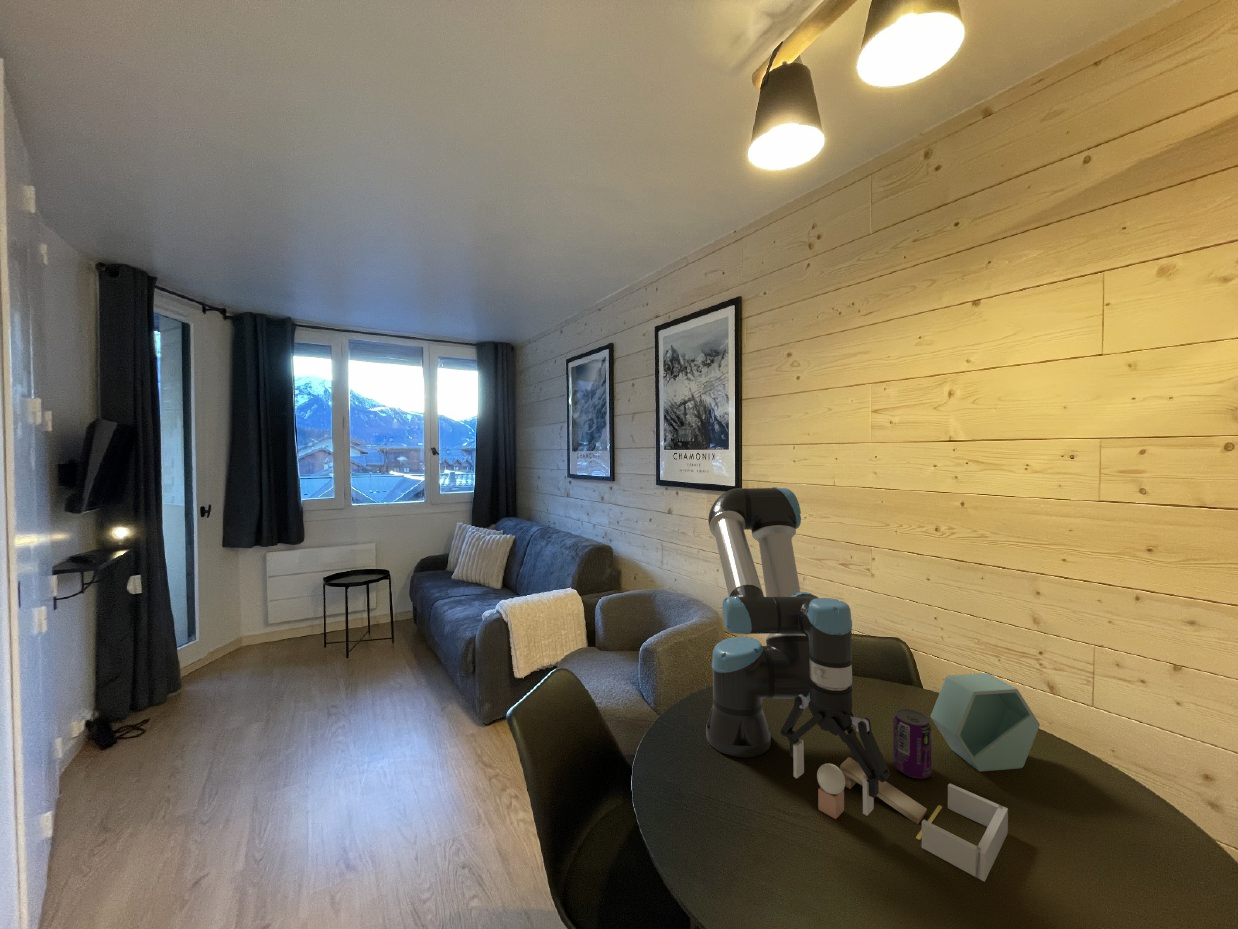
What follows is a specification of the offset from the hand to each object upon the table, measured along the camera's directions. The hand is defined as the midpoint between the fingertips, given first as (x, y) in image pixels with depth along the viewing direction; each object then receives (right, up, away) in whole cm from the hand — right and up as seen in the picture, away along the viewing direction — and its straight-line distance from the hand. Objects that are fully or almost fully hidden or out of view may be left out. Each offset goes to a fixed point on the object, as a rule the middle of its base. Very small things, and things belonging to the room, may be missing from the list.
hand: (831, 792), depth 94 cm
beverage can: (+22, -3, +11) cm, 25 cm away
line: (+17, -4, -3) cm, 17 cm away
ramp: (+11, -3, +3) cm, 12 cm away
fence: (+20, -4, -7) cm, 22 cm away
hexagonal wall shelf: (+40, -3, +15) cm, 43 cm away
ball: (0, +2, 0) cm, 2 cm away
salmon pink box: (0, -4, 0) cm, 4 cm away
